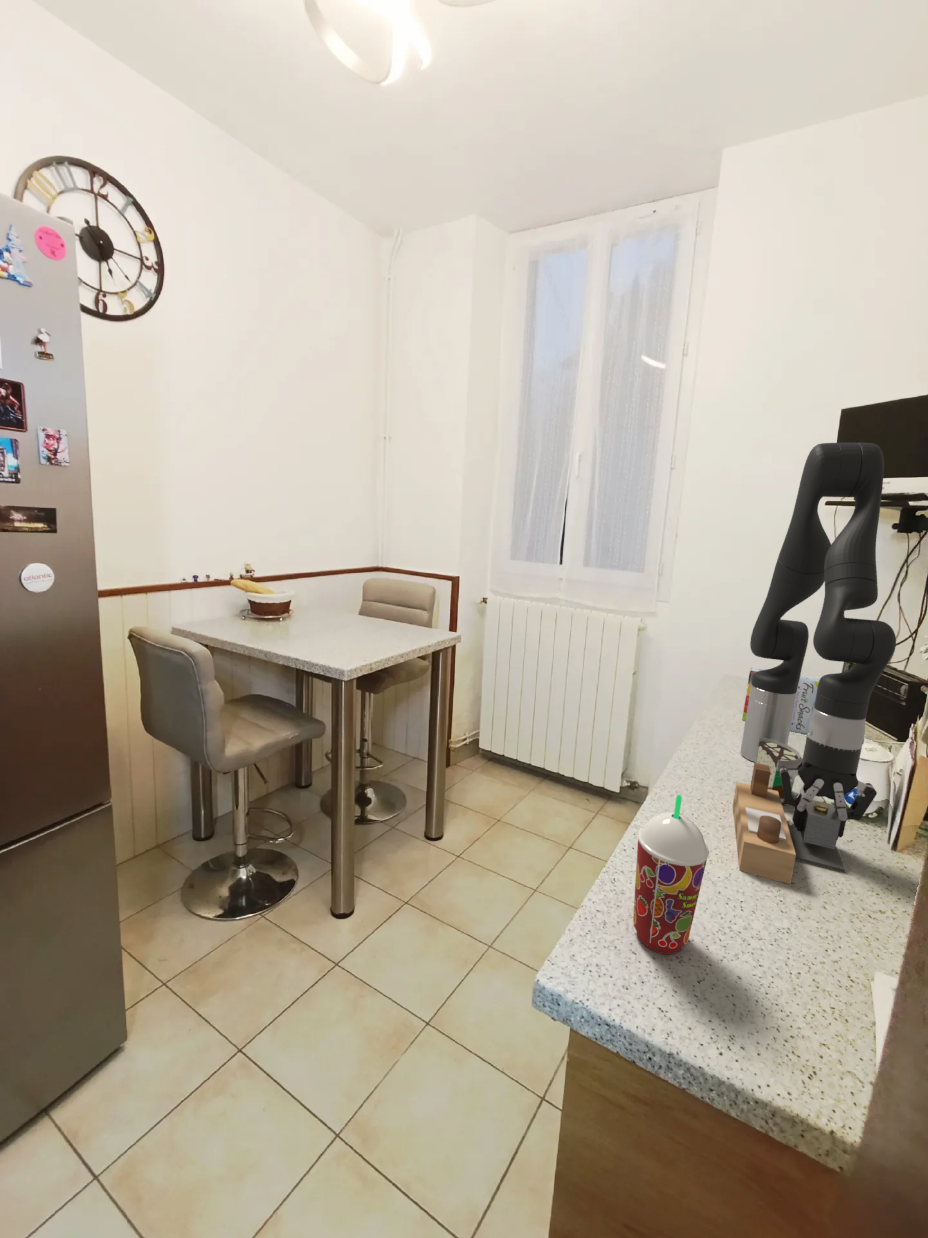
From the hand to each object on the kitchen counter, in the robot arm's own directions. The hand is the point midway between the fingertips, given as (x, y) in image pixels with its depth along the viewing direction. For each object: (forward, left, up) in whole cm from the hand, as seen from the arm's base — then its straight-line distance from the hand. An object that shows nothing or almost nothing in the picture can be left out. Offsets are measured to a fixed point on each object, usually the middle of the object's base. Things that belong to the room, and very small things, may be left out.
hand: (815, 832), depth 92 cm
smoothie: (+34, -23, -3) cm, 41 cm away
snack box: (-65, +3, -3) cm, 65 cm away
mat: (0, 0, -3) cm, 3 cm away
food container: (-18, -4, -3) cm, 19 cm away
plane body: (+2, -9, -3) cm, 9 cm away
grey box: (0, 0, -1) cm, 1 cm away
